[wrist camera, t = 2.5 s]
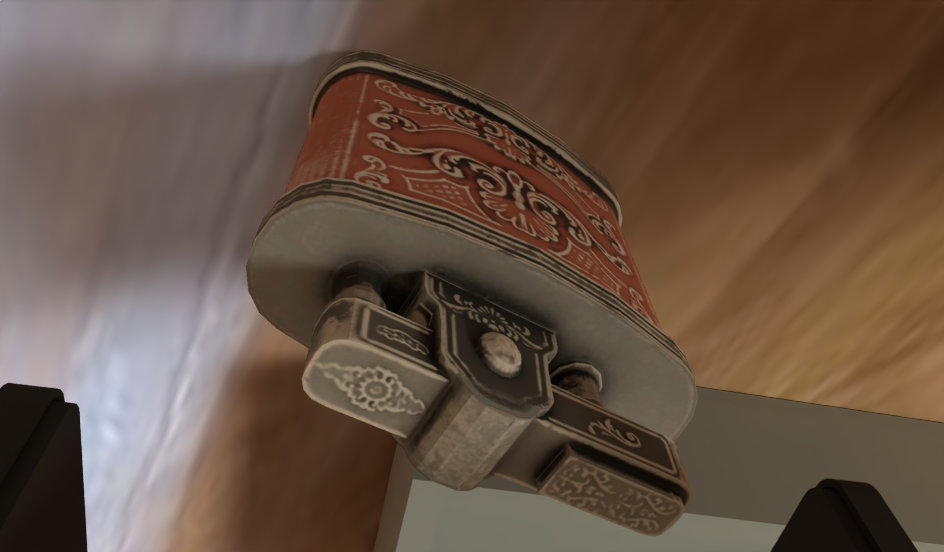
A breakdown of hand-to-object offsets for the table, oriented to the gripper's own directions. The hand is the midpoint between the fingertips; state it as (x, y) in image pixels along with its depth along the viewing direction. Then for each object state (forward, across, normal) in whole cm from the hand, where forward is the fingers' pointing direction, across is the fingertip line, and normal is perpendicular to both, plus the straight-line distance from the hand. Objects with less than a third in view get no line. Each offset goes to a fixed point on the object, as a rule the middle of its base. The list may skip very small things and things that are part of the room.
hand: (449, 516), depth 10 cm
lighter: (+11, -1, 0) cm, 11 cm away
